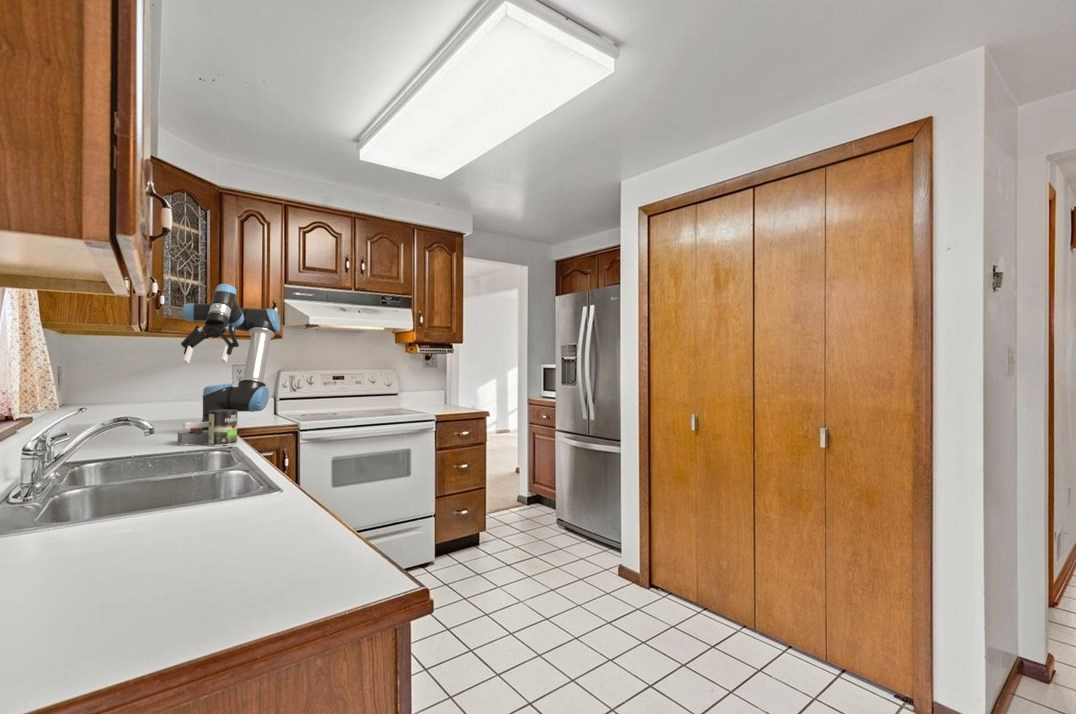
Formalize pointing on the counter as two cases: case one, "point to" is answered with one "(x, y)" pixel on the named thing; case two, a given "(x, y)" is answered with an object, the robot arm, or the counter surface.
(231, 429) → the coffee can
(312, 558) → the counter surface
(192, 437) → the box
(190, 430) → the button
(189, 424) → the bar
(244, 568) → the counter surface
